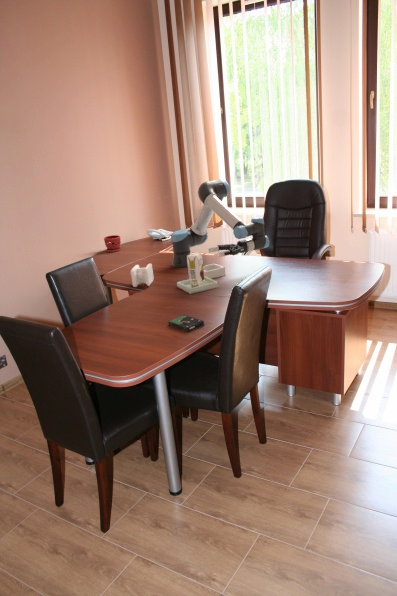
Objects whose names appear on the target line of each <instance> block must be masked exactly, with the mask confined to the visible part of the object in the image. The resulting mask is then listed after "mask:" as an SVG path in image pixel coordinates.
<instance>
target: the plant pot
mask: <svg viewBox="0 0 397 596" xmlns="http://www.w3.org/2000/svg"><path fill="white" fill-rule="evenodd" d="M103 240H104V245H105V247H106V251H107V252H108V253H114V252H119V251H120V250H121V243H122V242H121V236H120V235H118V234H115V235H113V234H112V235H107V236H105V237H104V238H103Z"/></svg>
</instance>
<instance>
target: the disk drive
mask: <svg viewBox="0 0 397 596" xmlns="http://www.w3.org/2000/svg"><path fill="white" fill-rule="evenodd" d="M167 323H168V326H170V327H172V326H173V327H172V328H175V327H176V328H175V329H178V330H180V329H181V331H183V330H184V332H186V333H189V332H192V331H194V330H197V329H199V328H201V327H204V326H205V322H204V320H202V319H199V318H195V317H193V316H189V315H187V314H182V315H180V316H177V317H175V318H173V319H171V320H168V322H167ZM196 328H197V329H196ZM193 329H194V330H193ZM191 330H192V331H191ZM188 331H189V332H188Z"/></svg>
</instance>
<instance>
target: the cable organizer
mask: <svg viewBox="0 0 397 596" xmlns="http://www.w3.org/2000/svg"><path fill="white" fill-rule="evenodd" d="M129 274H130V277H131V284H132V286H133V288H138V286H139V285H141V283H143V284H144V285H146V286H148V287H150V286H151V284H152V283H153V281H154V280H155V279H154V277H155V276H154V271H153V264H152V263H148V264H147V265H146V267H140V265H139V264H135V265H134V266H133V267H132V268H131V269H130V273H129Z"/></svg>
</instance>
